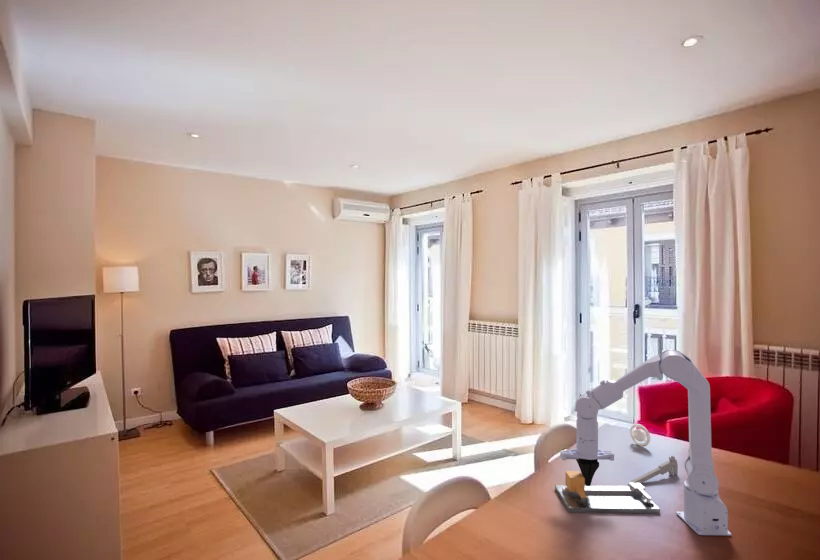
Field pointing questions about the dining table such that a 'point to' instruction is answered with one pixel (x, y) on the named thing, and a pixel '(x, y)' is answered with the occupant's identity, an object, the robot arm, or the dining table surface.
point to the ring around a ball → (640, 435)
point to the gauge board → (609, 499)
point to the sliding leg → (576, 483)
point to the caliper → (659, 471)
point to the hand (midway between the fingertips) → (586, 484)
